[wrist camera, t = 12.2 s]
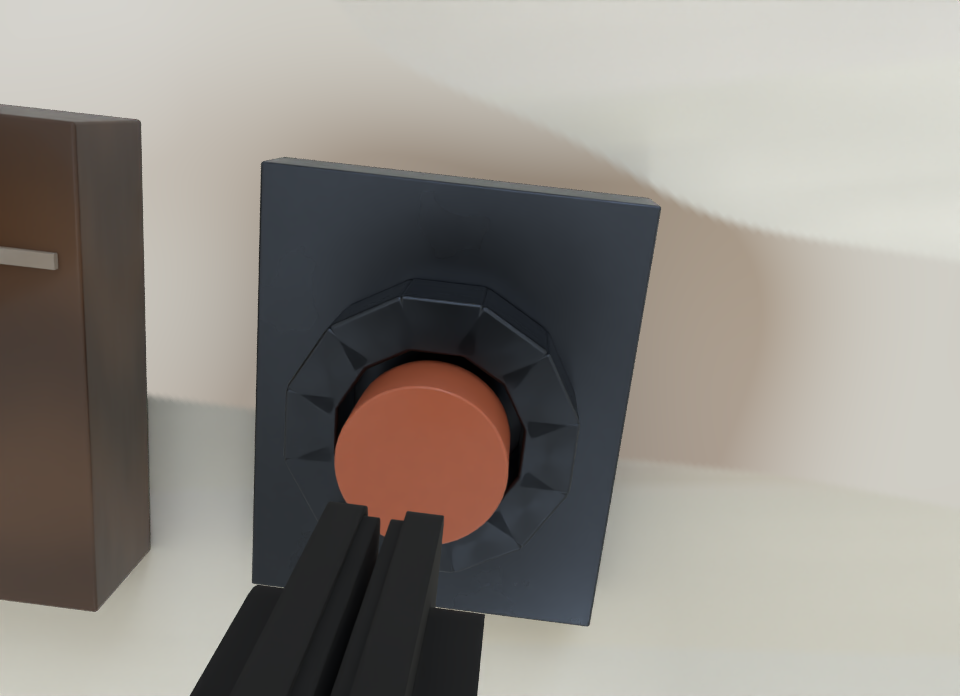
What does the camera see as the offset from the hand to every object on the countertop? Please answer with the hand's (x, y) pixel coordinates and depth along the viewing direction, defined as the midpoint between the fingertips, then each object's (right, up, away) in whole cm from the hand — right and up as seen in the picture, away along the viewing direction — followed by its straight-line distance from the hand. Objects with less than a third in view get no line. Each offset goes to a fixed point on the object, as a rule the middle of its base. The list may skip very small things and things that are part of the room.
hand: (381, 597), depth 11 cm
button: (0, +2, +6) cm, 7 cm away
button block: (+1, +3, +9) cm, 10 cm away
